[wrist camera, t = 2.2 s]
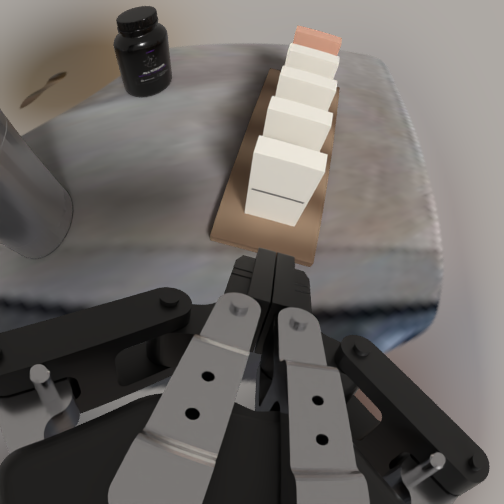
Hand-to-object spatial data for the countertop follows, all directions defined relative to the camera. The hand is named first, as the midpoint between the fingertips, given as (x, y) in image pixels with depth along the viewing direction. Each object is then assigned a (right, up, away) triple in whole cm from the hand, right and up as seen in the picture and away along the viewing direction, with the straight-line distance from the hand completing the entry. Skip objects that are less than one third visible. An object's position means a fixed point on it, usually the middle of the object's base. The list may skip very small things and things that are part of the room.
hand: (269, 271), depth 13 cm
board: (+3, +13, +21) cm, 25 cm away
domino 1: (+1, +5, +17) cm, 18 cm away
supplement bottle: (-15, +24, +23) cm, 37 cm away
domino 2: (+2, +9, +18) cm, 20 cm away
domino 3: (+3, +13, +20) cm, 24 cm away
